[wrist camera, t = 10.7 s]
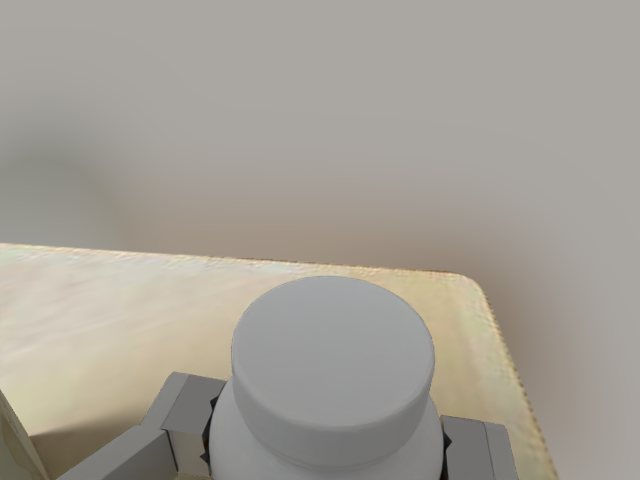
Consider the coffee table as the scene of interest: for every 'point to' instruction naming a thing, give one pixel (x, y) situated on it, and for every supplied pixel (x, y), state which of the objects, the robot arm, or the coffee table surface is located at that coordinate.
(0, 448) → the skincare box
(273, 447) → the supplement bottle
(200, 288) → the coffee table surface
